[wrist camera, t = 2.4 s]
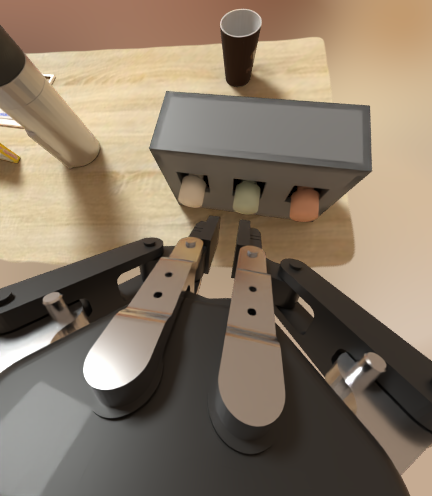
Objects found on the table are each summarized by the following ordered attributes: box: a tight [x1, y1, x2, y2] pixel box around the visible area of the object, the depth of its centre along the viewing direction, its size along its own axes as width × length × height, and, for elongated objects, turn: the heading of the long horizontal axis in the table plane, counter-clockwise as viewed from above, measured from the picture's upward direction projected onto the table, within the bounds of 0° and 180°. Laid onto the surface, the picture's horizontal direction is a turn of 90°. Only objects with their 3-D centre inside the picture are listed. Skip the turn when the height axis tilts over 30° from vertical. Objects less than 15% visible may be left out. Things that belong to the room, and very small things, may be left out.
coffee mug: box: [220, 9, 262, 87], centre depth 44 cm, size 12×9×10 cm
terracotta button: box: [290, 186, 319, 222], centre depth 29 cm, size 7×4×4 cm, turn 170°
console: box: [149, 91, 372, 222], centre depth 32 cm, size 10×28×16 cm, turn 80°
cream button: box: [178, 173, 206, 208], centre depth 31 cm, size 7×4×4 cm, turn 170°
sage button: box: [233, 179, 261, 214], centre depth 30 cm, size 7×4×4 cm, turn 170°
